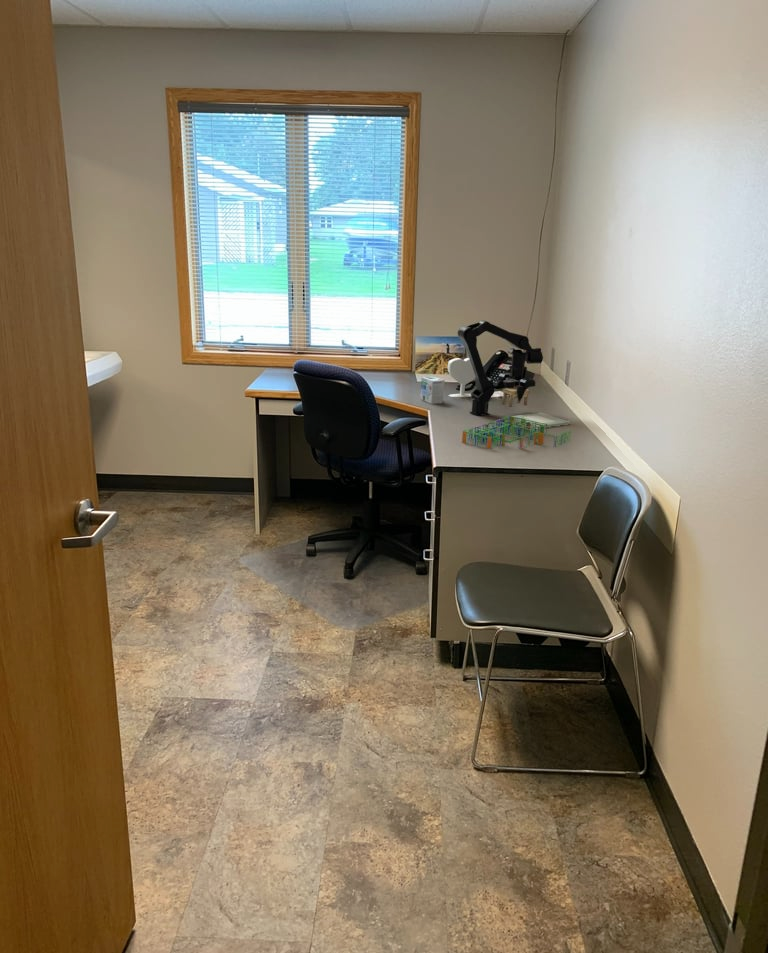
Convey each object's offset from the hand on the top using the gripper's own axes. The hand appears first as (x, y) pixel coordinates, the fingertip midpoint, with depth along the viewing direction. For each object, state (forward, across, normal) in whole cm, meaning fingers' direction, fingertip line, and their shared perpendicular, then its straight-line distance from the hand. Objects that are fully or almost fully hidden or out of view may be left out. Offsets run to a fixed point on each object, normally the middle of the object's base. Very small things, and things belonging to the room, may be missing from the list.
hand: (515, 399), depth 330 cm
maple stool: (+2, 0, 0) cm, 2 cm away
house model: (+7, -38, +30) cm, 49 cm away
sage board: (+6, -18, +1) cm, 19 cm away
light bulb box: (+6, +34, +21) cm, 41 cm away
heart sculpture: (+6, +39, 0) cm, 40 cm away
